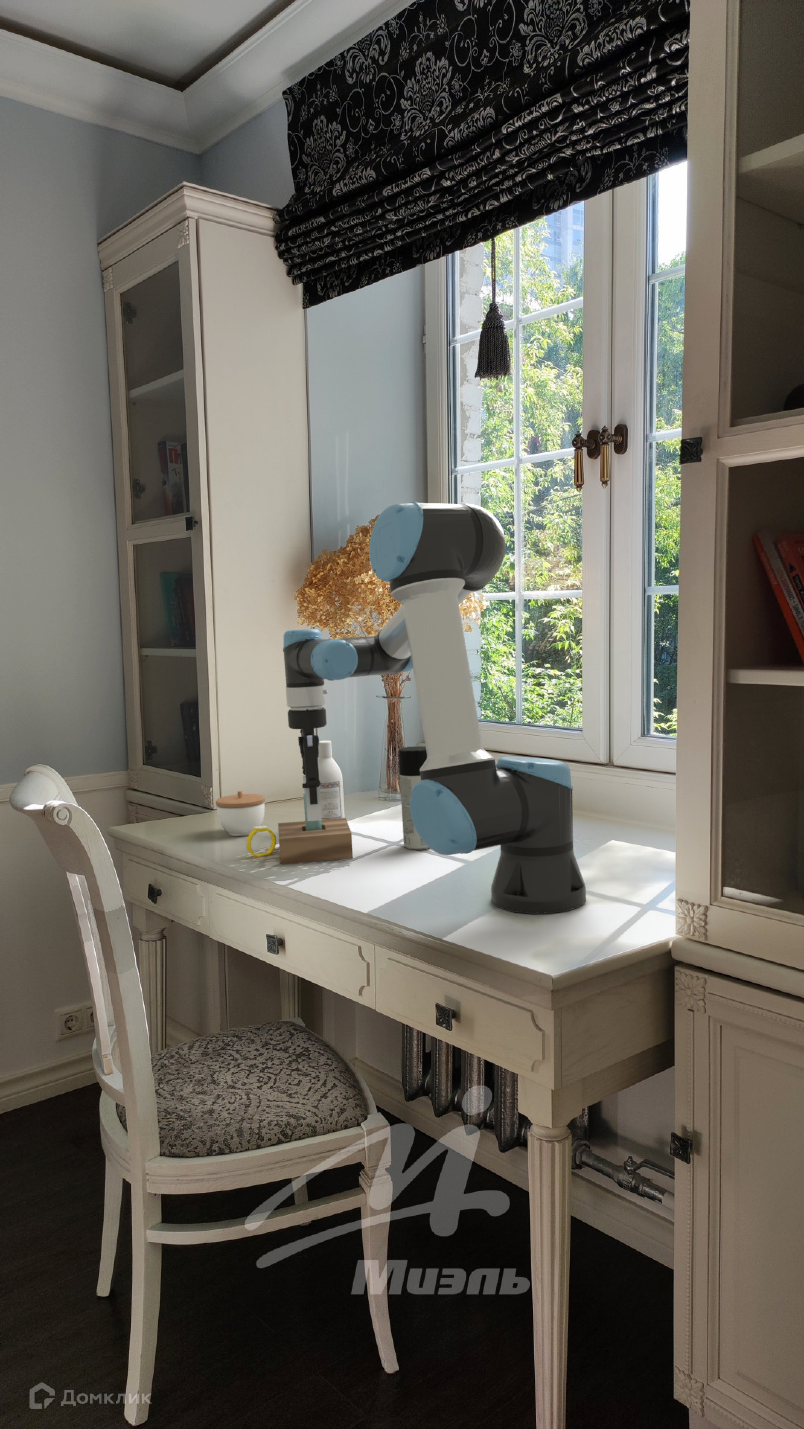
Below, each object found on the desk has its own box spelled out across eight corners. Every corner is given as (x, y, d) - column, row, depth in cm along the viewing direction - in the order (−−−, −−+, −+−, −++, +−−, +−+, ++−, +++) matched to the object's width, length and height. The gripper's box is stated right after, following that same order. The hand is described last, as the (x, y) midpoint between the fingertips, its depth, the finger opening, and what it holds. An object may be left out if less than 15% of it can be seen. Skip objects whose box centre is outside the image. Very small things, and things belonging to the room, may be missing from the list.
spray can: (433, 850, 191) (429, 750, 189) (400, 850, 192) (395, 751, 190) (439, 842, 197) (434, 745, 195) (406, 842, 199) (402, 746, 197)
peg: (307, 855, 192) (303, 795, 191) (306, 851, 195) (303, 792, 194) (323, 853, 193) (320, 794, 191) (322, 849, 196) (319, 791, 195)
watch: (271, 853, 197) (271, 824, 196) (278, 855, 194) (278, 826, 194) (244, 856, 193) (244, 827, 193) (251, 859, 191) (251, 829, 190)
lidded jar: (209, 837, 212) (206, 795, 211) (232, 826, 222) (230, 786, 221) (253, 839, 208) (250, 796, 207) (275, 827, 218) (272, 786, 217)
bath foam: (321, 827, 216) (315, 739, 214) (350, 828, 214) (345, 739, 211) (308, 835, 209) (303, 743, 207) (338, 836, 207) (333, 743, 205)
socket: (352, 858, 188) (351, 832, 188) (280, 864, 186) (278, 838, 186) (347, 841, 202) (345, 817, 201) (279, 846, 200) (278, 823, 200)
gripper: (329, 712, 179) (336, 824, 181) (322, 701, 204) (328, 800, 206) (288, 715, 178) (295, 828, 180) (286, 703, 203) (292, 802, 205)
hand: (313, 813), depth 193 cm, fingers open, 13 cm apart
